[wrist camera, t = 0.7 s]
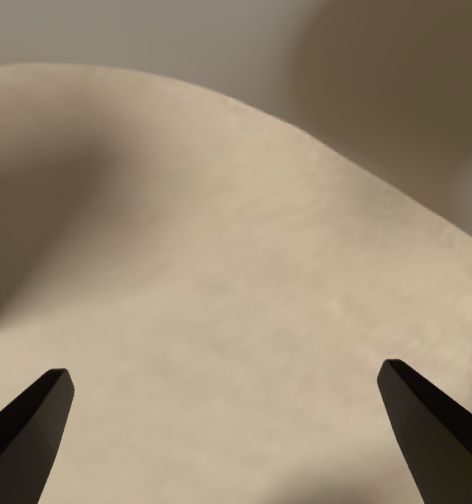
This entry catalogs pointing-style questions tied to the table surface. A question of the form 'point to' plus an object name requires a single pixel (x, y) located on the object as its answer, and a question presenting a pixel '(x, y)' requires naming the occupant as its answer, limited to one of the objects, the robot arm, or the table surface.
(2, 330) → the table surface
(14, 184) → the table surface
